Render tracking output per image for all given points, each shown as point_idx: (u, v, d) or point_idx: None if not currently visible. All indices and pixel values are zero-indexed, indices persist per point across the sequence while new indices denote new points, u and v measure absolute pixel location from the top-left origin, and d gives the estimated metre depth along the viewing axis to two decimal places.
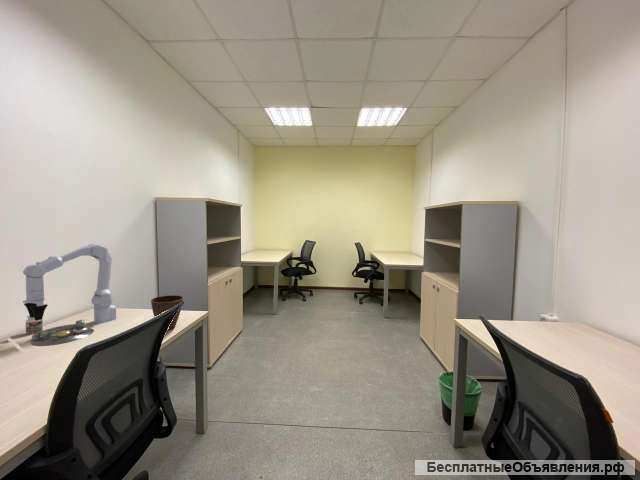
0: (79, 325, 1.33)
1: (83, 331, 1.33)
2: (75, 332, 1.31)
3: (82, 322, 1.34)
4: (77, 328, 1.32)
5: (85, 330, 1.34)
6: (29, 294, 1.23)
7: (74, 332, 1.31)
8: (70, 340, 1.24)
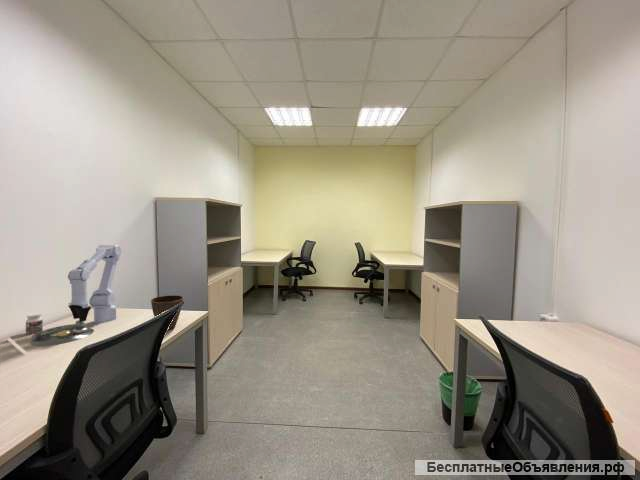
0: (79, 325, 1.33)
1: (83, 331, 1.33)
2: (75, 332, 1.31)
3: (82, 322, 1.34)
4: (77, 328, 1.32)
5: (85, 330, 1.34)
6: (75, 297, 1.30)
7: (74, 332, 1.31)
8: (70, 340, 1.24)
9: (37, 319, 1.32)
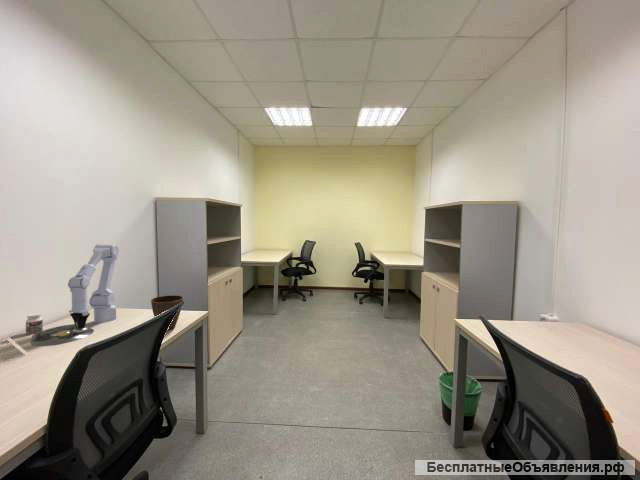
0: None
1: (83, 331, 1.33)
2: (75, 332, 1.31)
3: None
4: (77, 328, 1.32)
5: (85, 330, 1.34)
6: (75, 304, 1.31)
7: (74, 332, 1.31)
8: (70, 340, 1.24)
9: (37, 319, 1.32)
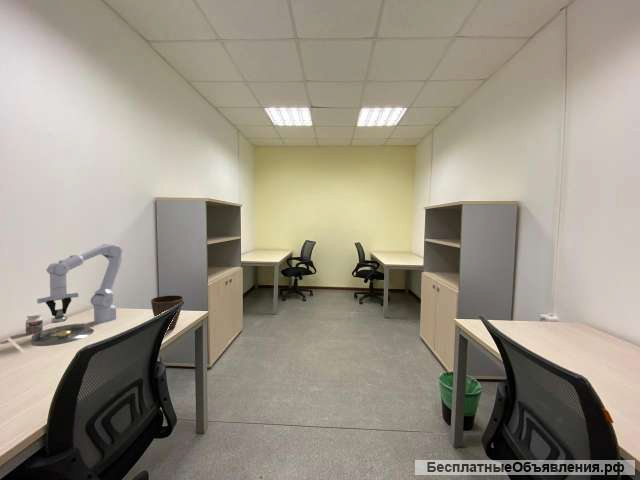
0: None
1: (52, 321, 1.29)
2: None
3: (55, 312, 1.30)
4: None
5: (54, 321, 1.29)
6: None
7: None
8: (70, 340, 1.24)
9: (37, 319, 1.32)
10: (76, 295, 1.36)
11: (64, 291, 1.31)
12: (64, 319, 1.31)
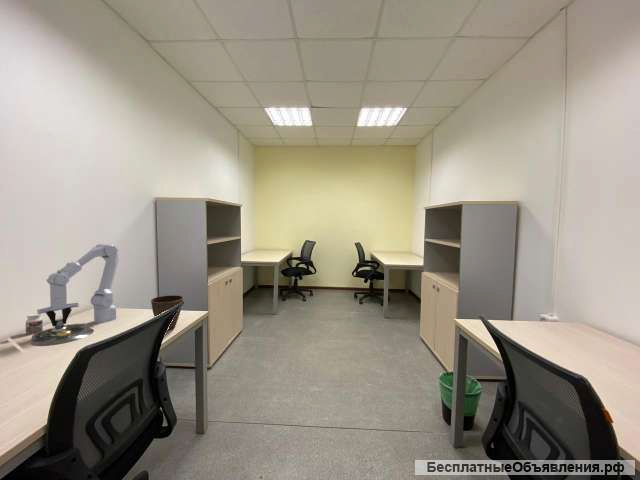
0: None
1: (52, 331, 1.29)
2: None
3: None
4: None
5: (54, 331, 1.29)
6: None
7: None
8: (70, 340, 1.24)
9: (37, 319, 1.32)
10: (76, 305, 1.36)
11: (64, 301, 1.31)
12: (64, 329, 1.31)
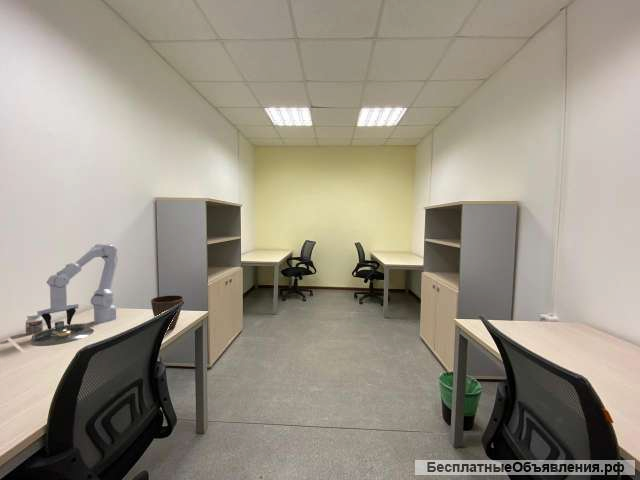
0: None
1: (52, 334, 1.29)
2: None
3: (56, 324, 1.30)
4: None
5: (54, 333, 1.29)
6: None
7: None
8: (70, 340, 1.24)
9: (37, 319, 1.32)
10: (76, 306, 1.36)
11: (64, 303, 1.31)
12: None
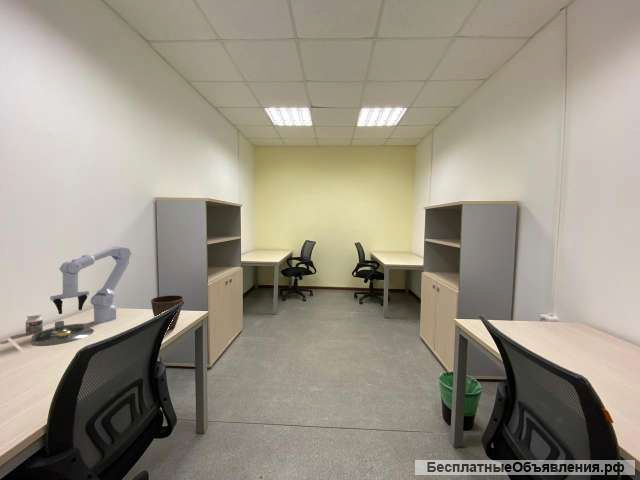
0: None
1: (52, 334, 1.29)
2: None
3: (56, 324, 1.30)
4: None
5: (54, 333, 1.29)
6: None
7: None
8: (70, 340, 1.24)
9: (37, 319, 1.32)
10: (87, 293, 1.41)
11: (76, 289, 1.36)
12: None
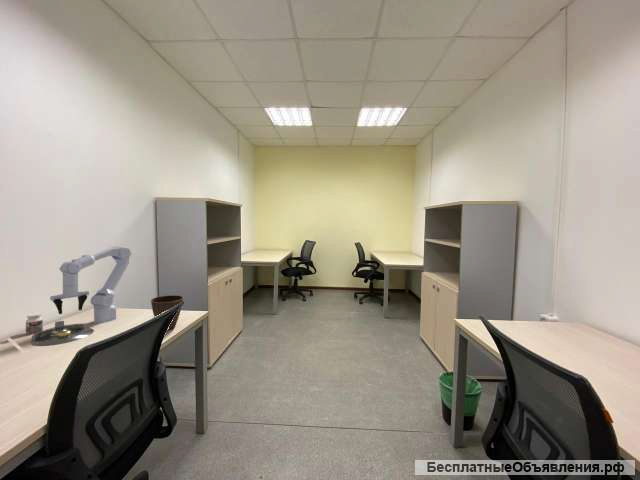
0: (55, 326, 1.31)
1: (52, 333, 1.29)
2: None
3: (56, 324, 1.30)
4: None
5: (54, 333, 1.29)
6: None
7: None
8: (70, 340, 1.24)
9: (37, 319, 1.32)
10: (87, 293, 1.41)
11: (76, 289, 1.36)
12: None
